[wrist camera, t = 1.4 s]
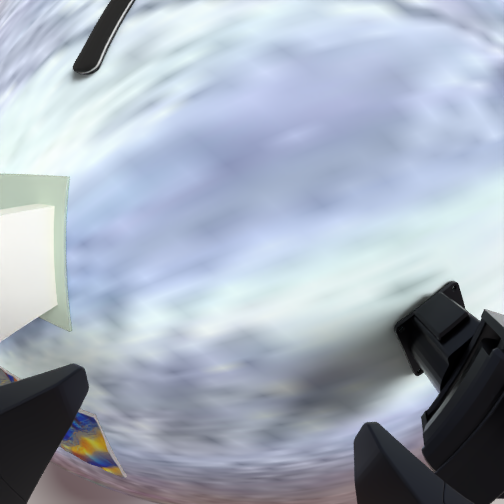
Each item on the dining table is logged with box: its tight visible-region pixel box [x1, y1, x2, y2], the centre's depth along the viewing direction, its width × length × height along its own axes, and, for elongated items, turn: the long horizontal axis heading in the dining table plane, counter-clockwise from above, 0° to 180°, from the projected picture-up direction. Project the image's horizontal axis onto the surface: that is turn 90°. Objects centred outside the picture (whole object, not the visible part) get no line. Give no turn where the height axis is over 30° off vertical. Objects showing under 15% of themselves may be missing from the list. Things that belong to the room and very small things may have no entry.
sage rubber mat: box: [0, 174, 72, 332], centre depth 19 cm, size 20×14×1 cm
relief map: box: [0, 367, 127, 478], centre depth 26 cm, size 25×15×2 cm, turn 87°
